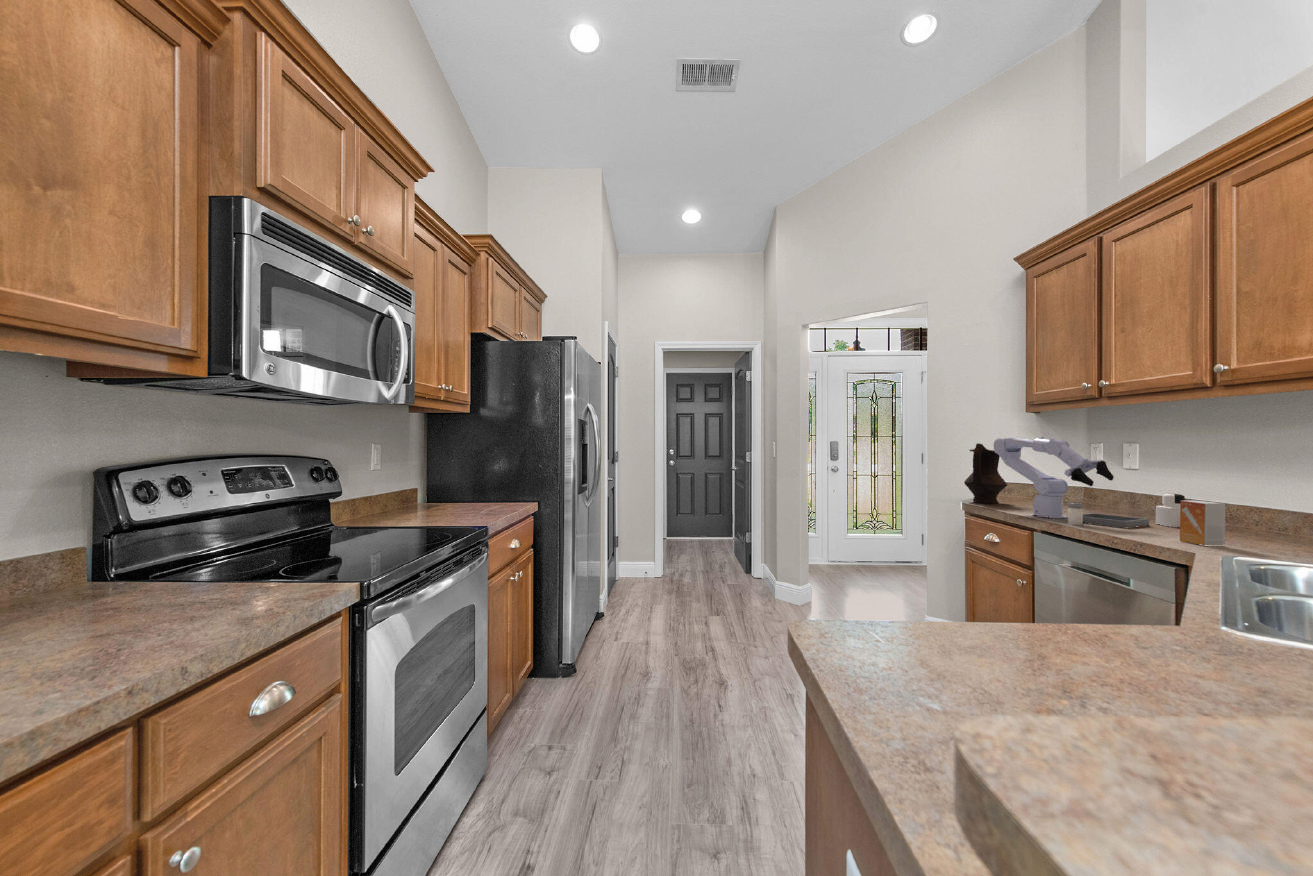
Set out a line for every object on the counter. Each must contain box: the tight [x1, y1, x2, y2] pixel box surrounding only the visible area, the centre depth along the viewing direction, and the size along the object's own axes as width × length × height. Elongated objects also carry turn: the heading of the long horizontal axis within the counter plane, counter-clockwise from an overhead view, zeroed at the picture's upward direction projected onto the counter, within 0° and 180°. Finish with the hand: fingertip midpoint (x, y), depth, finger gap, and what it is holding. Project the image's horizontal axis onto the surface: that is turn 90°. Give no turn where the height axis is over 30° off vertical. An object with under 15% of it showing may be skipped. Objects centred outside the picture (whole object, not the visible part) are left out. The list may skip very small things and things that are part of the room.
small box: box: [1179, 499, 1226, 545], centre depth 168 cm, size 8×6×13 cm
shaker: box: [1067, 502, 1084, 526], centre depth 205 cm, size 5×5×8 cm
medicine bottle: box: [1155, 493, 1186, 528], centre depth 204 cm, size 7×7×12 cm
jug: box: [963, 442, 1008, 505], centre depth 274 cm, size 21×18×30 cm
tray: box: [1083, 512, 1150, 529], centre depth 208 cm, size 18×16×2 cm
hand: (1102, 481), depth 204 cm, fingers open, 7 cm apart
